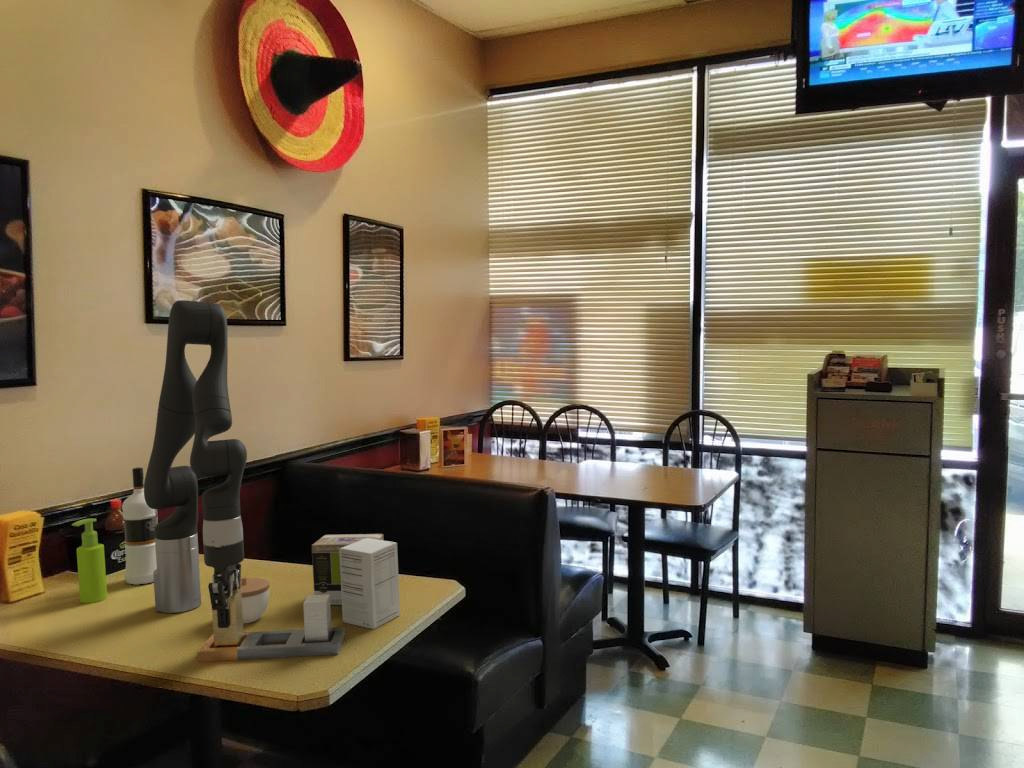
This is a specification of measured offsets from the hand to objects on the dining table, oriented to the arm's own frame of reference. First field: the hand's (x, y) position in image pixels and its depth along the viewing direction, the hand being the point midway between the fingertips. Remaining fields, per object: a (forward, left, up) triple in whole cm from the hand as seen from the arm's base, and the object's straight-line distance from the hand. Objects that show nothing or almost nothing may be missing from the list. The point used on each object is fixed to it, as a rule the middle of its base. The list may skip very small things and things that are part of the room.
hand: (227, 622), depth 155 cm
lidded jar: (-2, +18, -6) cm, 19 cm away
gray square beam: (+18, 0, -6) cm, 19 cm away
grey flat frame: (+9, 0, -6) cm, 11 cm away
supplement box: (+27, +14, -6) cm, 31 cm away
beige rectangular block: (0, 0, -4) cm, 4 cm away
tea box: (+20, +28, -6) cm, 35 cm away
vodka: (-37, +50, -6) cm, 62 cm away
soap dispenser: (-44, +36, -6) cm, 57 cm away
